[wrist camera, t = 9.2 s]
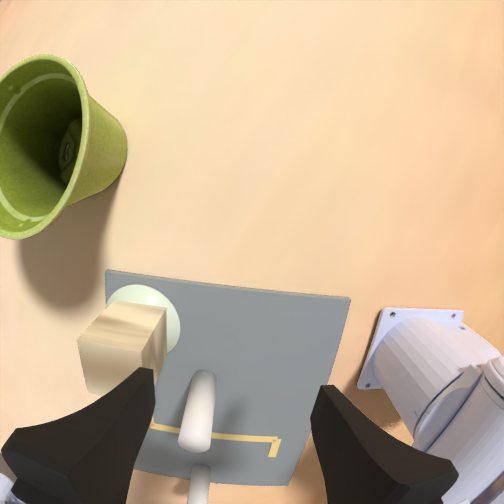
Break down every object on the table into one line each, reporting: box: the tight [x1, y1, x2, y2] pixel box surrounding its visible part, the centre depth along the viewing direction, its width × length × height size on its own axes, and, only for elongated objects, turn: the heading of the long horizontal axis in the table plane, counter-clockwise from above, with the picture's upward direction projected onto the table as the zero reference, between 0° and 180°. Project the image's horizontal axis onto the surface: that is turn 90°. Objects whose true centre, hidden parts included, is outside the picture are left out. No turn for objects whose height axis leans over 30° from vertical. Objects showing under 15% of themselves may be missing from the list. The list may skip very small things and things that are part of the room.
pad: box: [105, 284, 181, 353], centre depth 20 cm, size 6×6×1 cm
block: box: [77, 300, 167, 396], centre depth 17 cm, size 4×4×6 cm
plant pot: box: [0, 54, 127, 240], centre depth 14 cm, size 9×9×9 cm
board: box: [105, 270, 351, 504], centre depth 20 cm, size 18×24×8 cm
